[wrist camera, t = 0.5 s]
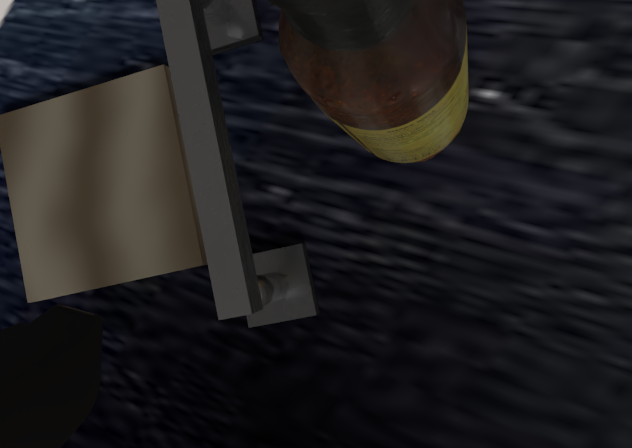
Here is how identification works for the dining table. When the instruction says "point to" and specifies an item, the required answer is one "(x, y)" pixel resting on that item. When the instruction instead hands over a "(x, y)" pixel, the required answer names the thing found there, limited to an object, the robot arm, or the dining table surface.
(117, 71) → the dining table surface
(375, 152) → the sauce bottle
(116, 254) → the birch pad
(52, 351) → the robot arm
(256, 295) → the grey bar handle
